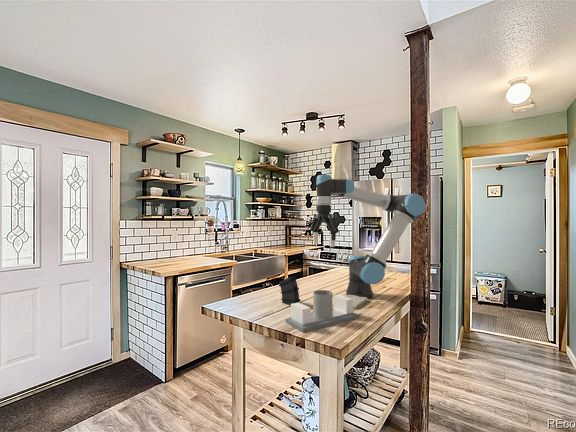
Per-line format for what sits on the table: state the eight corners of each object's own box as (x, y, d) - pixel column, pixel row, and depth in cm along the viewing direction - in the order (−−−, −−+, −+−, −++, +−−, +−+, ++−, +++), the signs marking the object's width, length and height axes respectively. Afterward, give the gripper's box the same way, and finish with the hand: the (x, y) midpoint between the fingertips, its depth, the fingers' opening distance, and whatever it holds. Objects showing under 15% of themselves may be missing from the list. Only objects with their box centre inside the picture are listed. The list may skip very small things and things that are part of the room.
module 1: (298, 316, 132) (298, 302, 132) (310, 322, 124) (310, 307, 124) (290, 317, 130) (290, 303, 130) (302, 324, 122) (302, 309, 122)
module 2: (339, 307, 144) (339, 294, 144) (353, 312, 137) (353, 299, 137) (333, 308, 142) (333, 295, 142) (346, 313, 135) (346, 300, 135)
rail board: (339, 310, 147) (339, 307, 147) (358, 317, 136) (358, 314, 136) (285, 322, 131) (285, 318, 130) (302, 332, 119) (302, 328, 119)
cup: (321, 310, 139) (321, 289, 139) (336, 314, 133) (336, 292, 133) (309, 315, 133) (309, 292, 133) (324, 319, 127) (324, 296, 127)
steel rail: (339, 308, 144) (339, 307, 144) (353, 313, 137) (353, 312, 137) (290, 319, 130) (290, 317, 130) (302, 326, 122) (302, 324, 122)
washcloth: (369, 302, 162) (369, 296, 162) (356, 310, 147) (356, 304, 147) (348, 298, 169) (348, 293, 169) (334, 306, 154) (334, 300, 154)
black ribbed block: (298, 305, 148) (290, 276, 153) (283, 311, 157) (276, 283, 162) (304, 304, 151) (295, 275, 156) (289, 309, 160) (281, 282, 165)
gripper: (304, 205, 164) (304, 243, 165) (334, 204, 143) (334, 248, 143) (314, 205, 168) (314, 243, 169) (345, 204, 147) (345, 247, 148)
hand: (323, 245), depth 156 cm, fingers open, 13 cm apart
